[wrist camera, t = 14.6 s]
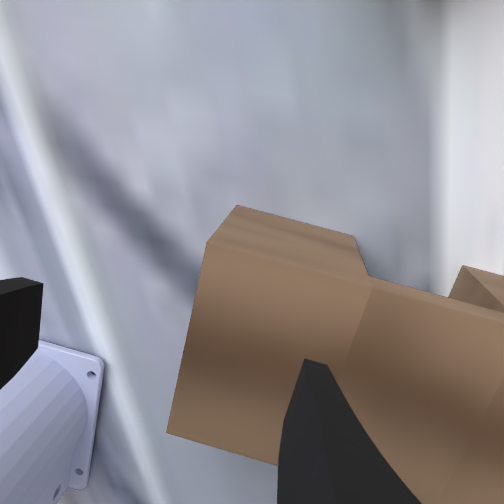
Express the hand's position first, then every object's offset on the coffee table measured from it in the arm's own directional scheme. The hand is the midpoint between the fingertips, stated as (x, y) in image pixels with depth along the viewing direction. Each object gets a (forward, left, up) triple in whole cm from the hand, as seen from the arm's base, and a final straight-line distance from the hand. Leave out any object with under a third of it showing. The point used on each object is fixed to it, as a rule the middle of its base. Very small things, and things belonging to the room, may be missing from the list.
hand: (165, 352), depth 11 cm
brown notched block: (-2, -8, -9) cm, 12 cm away
